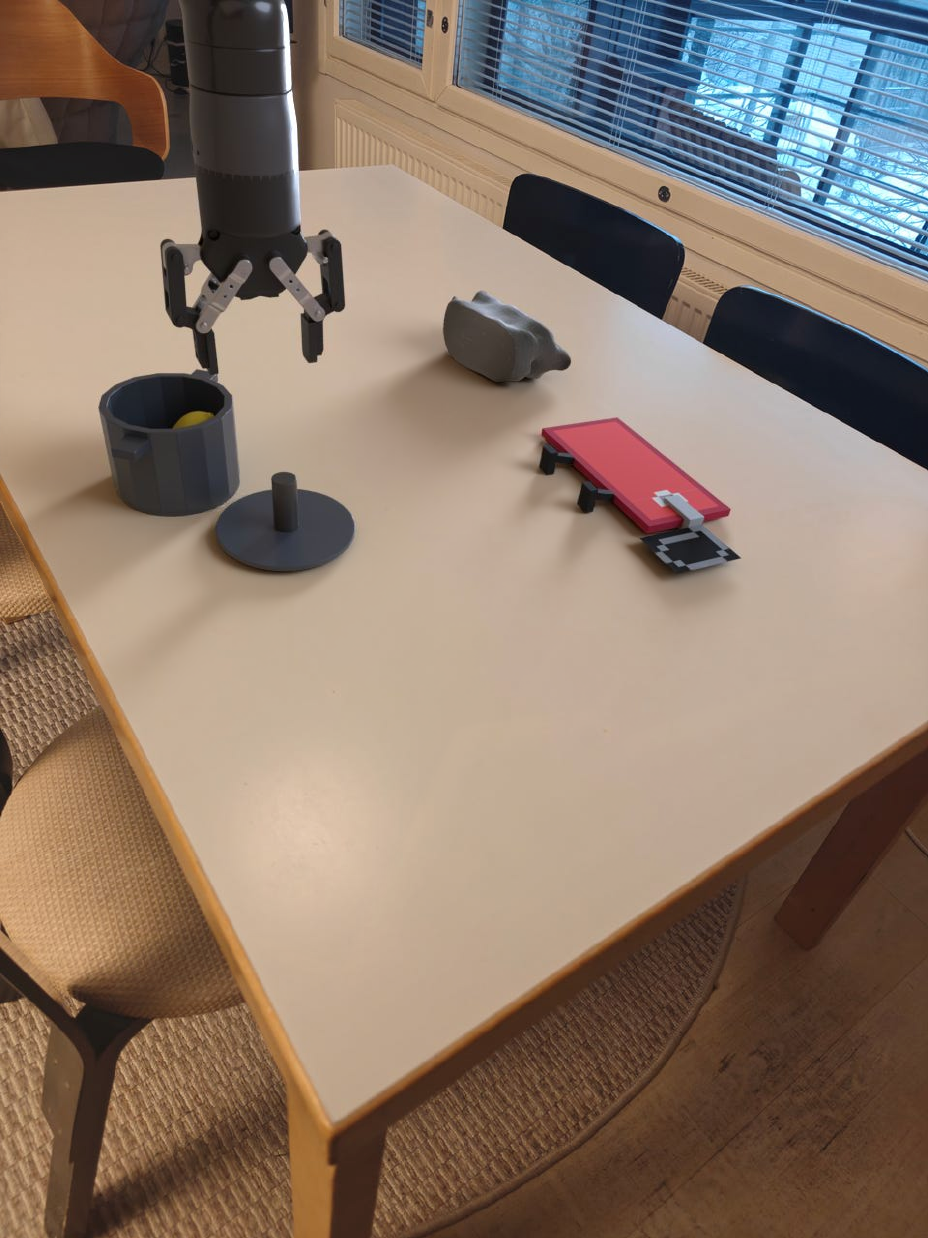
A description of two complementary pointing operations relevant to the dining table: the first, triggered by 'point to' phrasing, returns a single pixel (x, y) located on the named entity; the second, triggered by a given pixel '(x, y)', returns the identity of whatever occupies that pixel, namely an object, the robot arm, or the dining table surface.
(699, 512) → the red board with handle
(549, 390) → the dining table surface
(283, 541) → the pot lid
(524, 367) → the rock
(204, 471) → the pot
